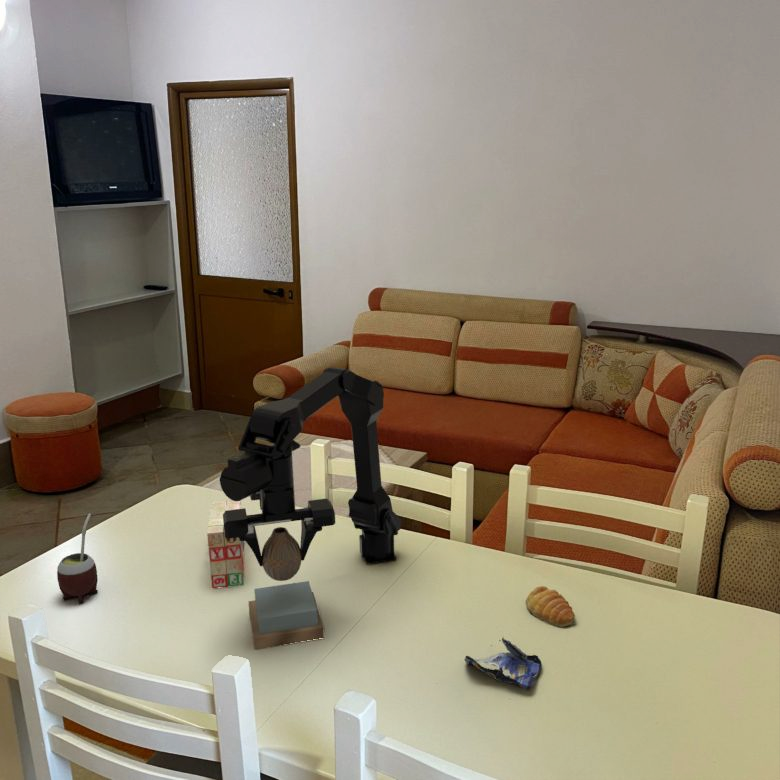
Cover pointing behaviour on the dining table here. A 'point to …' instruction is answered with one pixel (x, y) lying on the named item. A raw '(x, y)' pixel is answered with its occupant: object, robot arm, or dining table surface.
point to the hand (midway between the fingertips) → (281, 562)
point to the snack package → (511, 666)
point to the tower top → (285, 607)
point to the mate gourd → (77, 573)
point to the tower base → (282, 632)
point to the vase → (281, 555)
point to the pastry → (550, 607)
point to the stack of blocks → (224, 548)
